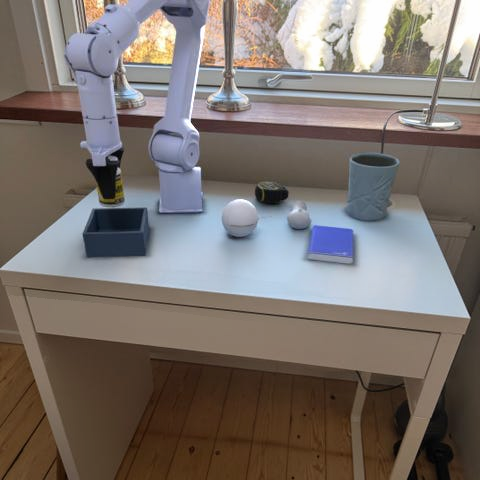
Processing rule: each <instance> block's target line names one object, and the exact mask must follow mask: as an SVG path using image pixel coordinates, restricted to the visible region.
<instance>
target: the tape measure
mask: <svg viewBox="0 0 480 480" xmlns="http://www.w3.org/2000/svg"><path fill="white" fill-rule="evenodd" d="M254 188H255V189H254V196H255V198H256V200H257V201H259V202H261V203H265V204H276V203H279V202H282V201H285V200H287V199H288V198H289V190H288V189H287V188H286V187H285V186H283V185H281V184H279V183H277V182H276V181H273V180H270V181H261V182H259V183H257V184H256V186H255V187H254Z"/></svg>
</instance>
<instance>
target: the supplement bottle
mask: <svg viewBox="0 0 480 480" xmlns="http://www.w3.org/2000/svg"><path fill="white" fill-rule="evenodd" d="M108 159H110V161H118V159H117V157H115V156H108ZM123 183H124V182H123V174H122V170H121V167H120V168H118V169H117V174H116V195H115V199H103V197H102V195H101V192H100V190H99V187H98V184H97V182H96V181H95V185H96V189H97V196H98V203H99V205H100V206H101V207H103V208H119V207H121V206H123V205H124V204H125V203H126V200H125V191H124V184H123Z"/></svg>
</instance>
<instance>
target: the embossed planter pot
mask: <svg viewBox="0 0 480 480" xmlns="http://www.w3.org/2000/svg"><path fill="white" fill-rule="evenodd" d="M400 163H401V162H400V159H398V158H397V157H395V156H393V155H389V154H385V153H379V152H361V153H356V154H353V155H351V156H350V157H349V166H348V168H349V169H348V173H349V174H348V190H347V191H348V194H347V202H346V203H347V204H346V205H347V206H346V213H347V214H348V215H349V216H350V217H352V218H353V219H357V220H361V221H366V222H367V221H369V222H372V221H373V222H374V221H380V220H382V219H384V218H385V216H386V214H387V210H388V207H389V206H388V205H389V201H390V199H391V195H392V192H393V185H394V183H395V180H396V178H397V177H396V176H397V173H398V170H399V166H400Z"/></svg>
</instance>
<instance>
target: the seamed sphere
mask: <svg viewBox="0 0 480 480" xmlns="http://www.w3.org/2000/svg"><path fill="white" fill-rule="evenodd" d="M272 217H273V215H272V216H268V218H272ZM263 218H264V219H265V216H263V217H262V216H260V217H259V213H258V210H257V209H256V207H255V205H254V204H252V202H250V201H249V200H245V199H243V198H238V199H234V200H231V201H230V202H229V203H227V204H226V205H225V207H224V208H223V210H222V213H221V223H222V227H223V228H224V229H225V232H227V233H228V234H230V235H231V236H233V237H237V238H243V237H247V236H249V235H250V234H252V233H253V232H254V231H255V230H256V228H257V227H258V223H259V219H263Z"/></svg>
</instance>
